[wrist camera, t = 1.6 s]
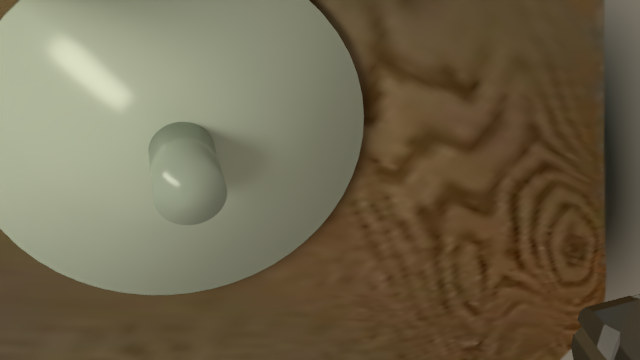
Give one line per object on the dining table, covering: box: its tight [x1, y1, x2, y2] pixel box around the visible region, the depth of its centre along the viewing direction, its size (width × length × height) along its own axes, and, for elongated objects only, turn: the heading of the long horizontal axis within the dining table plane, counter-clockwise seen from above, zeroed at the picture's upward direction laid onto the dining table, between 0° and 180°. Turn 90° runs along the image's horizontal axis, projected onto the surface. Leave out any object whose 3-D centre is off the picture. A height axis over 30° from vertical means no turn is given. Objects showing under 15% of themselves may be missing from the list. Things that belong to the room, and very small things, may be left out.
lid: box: [0, 0, 364, 295], centre depth 28 cm, size 19×19×5 cm
